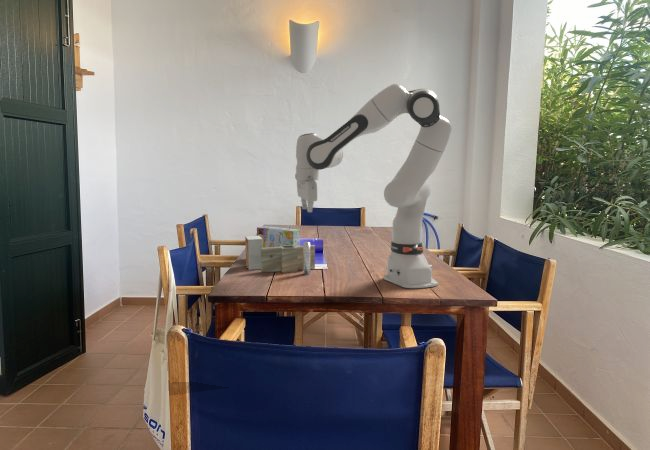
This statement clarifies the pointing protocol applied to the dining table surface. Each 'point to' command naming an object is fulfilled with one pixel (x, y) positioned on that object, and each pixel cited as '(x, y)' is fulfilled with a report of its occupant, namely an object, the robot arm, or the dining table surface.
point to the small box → (253, 252)
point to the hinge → (285, 258)
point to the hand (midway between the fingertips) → (307, 210)
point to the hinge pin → (306, 258)
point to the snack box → (278, 236)
